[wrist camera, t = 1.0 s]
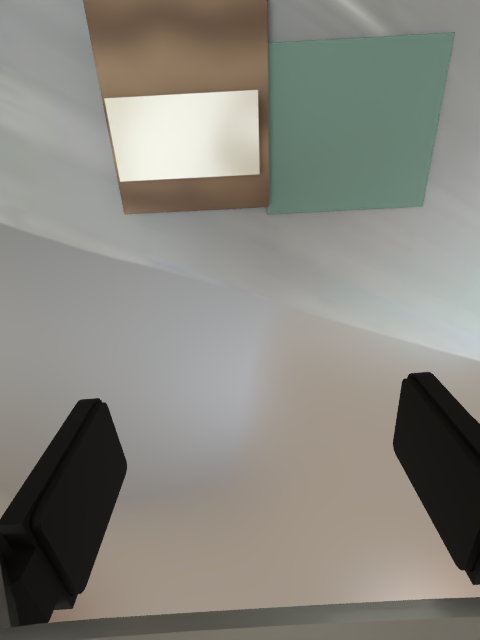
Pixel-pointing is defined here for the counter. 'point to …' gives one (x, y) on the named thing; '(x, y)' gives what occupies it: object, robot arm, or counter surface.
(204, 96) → the tile
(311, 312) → the counter surface
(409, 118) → the mat
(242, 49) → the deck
